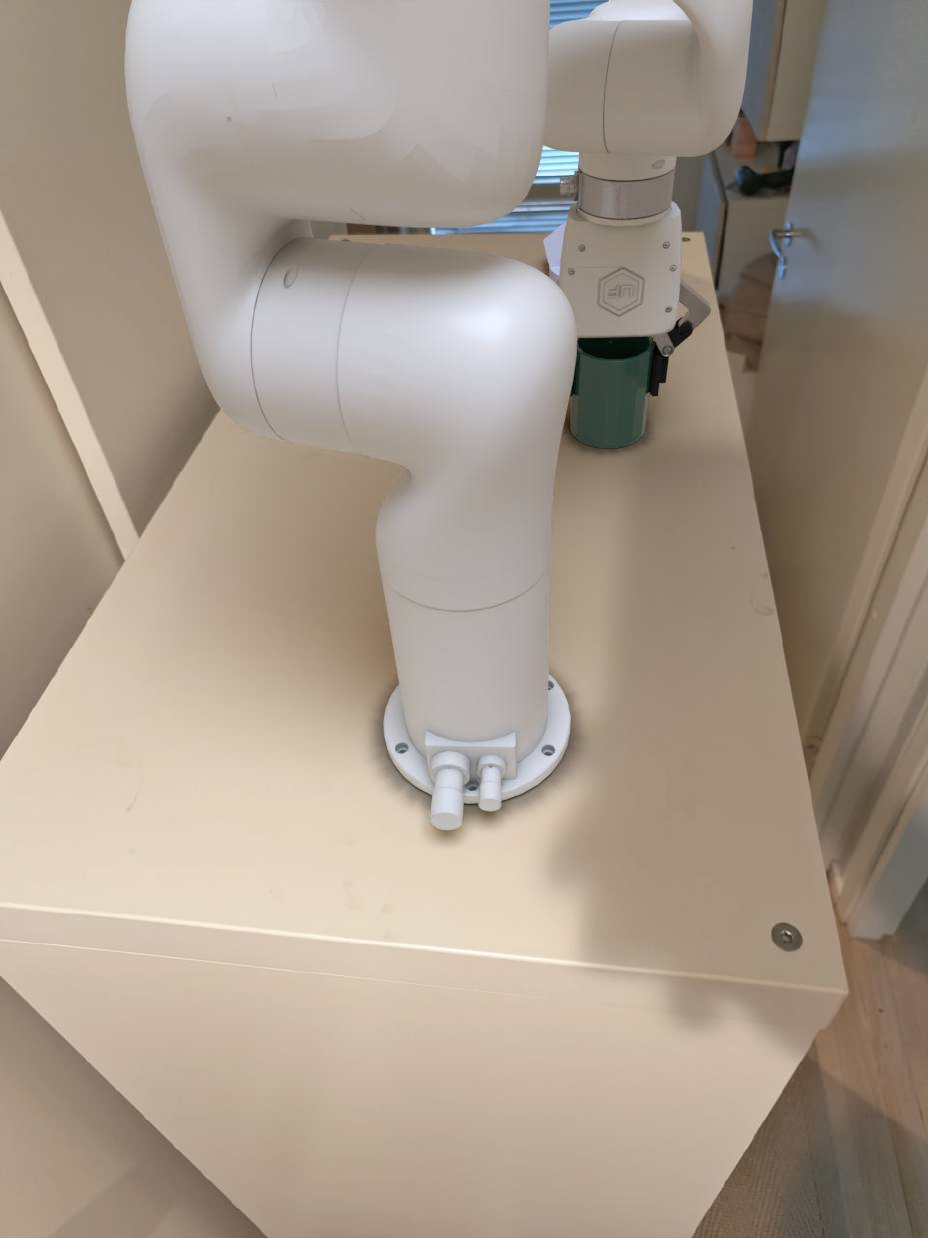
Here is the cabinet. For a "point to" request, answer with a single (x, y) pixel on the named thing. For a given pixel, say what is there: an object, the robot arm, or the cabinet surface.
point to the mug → (611, 390)
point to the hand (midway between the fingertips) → (610, 388)
